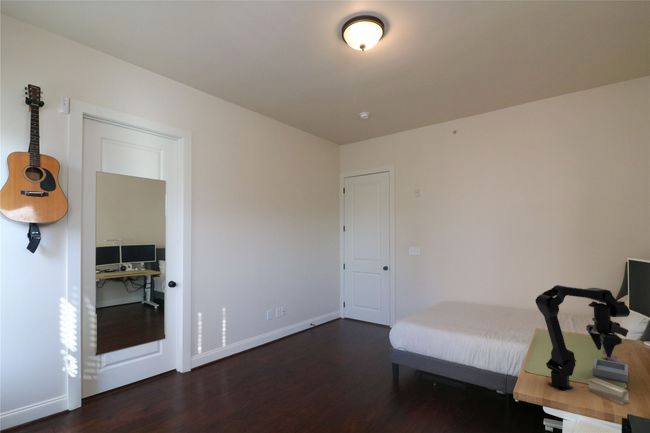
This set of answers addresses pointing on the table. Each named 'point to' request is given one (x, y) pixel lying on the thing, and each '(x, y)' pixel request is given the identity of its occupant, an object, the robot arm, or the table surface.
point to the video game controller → (612, 358)
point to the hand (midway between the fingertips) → (603, 353)
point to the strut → (608, 391)
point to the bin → (610, 370)
